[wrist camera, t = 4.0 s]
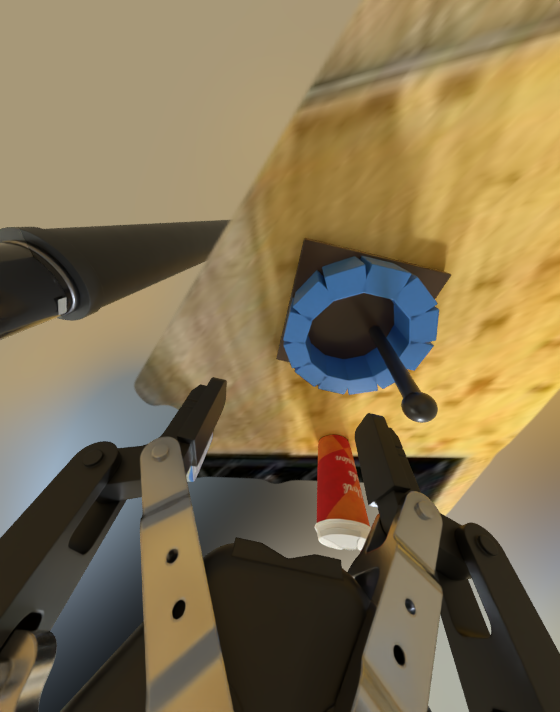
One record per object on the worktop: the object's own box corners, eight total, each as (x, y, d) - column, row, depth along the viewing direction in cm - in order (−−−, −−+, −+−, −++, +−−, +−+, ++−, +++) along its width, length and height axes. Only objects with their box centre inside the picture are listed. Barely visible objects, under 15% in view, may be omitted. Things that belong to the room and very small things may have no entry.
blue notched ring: (277, 358, 26) (273, 378, 23) (305, 241, 18) (305, 247, 15) (378, 381, 26) (388, 404, 23) (448, 276, 19) (478, 289, 15)
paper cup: (359, 452, 38) (381, 553, 27) (320, 456, 41) (324, 550, 29) (349, 427, 34) (369, 532, 23) (306, 434, 37) (306, 532, 25)
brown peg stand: (277, 354, 27) (257, 444, 17) (304, 237, 19) (299, 265, 8) (376, 376, 28) (420, 480, 17) (444, 271, 19) (614, 340, 9)
